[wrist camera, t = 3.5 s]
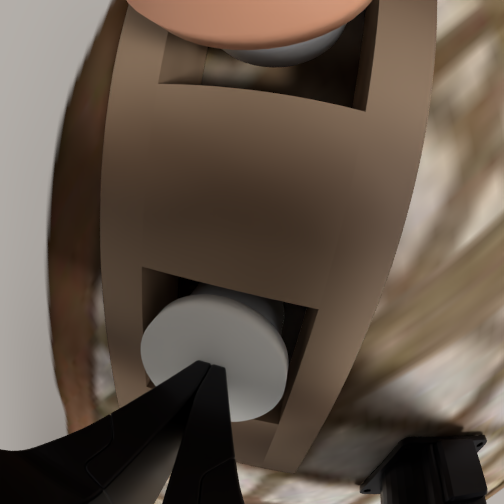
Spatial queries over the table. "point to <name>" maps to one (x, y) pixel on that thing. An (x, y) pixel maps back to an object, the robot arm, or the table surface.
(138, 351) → the walnut panel
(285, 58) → the terracotta plunger
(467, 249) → the table surface
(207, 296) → the white domed knob
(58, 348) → the table surface
